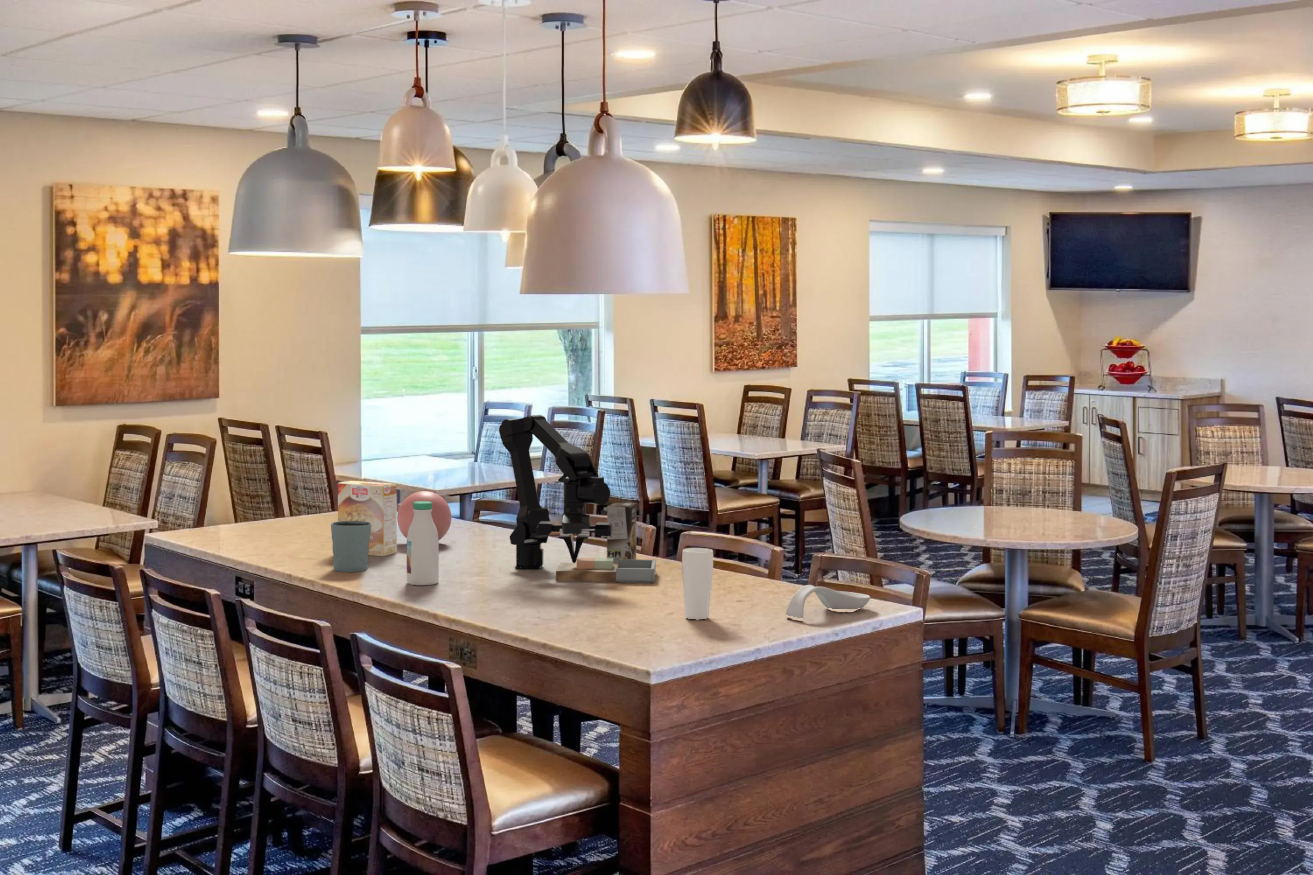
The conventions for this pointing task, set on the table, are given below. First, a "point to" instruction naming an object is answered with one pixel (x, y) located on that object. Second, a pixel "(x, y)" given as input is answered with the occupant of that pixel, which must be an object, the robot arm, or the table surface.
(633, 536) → the coffee box
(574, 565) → the walnut board
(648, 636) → the table surface
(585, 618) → the table surface
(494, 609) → the table surface
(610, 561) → the sage tile
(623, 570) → the tray
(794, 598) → the spoon rest
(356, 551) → the teal cup
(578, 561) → the terracotta tile
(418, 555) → the milk bottle
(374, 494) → the coffeecake box
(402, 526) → the balloon
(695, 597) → the drinking glass
